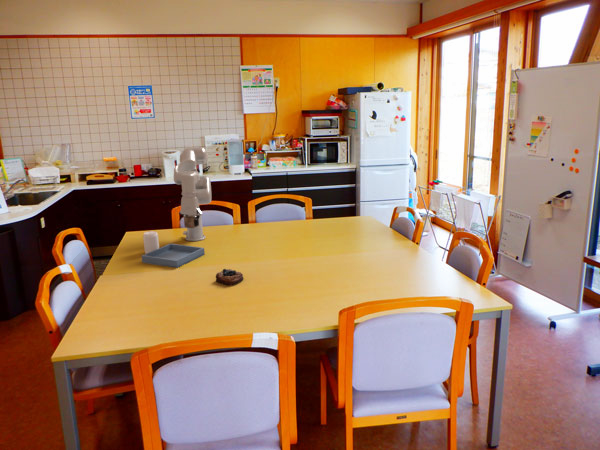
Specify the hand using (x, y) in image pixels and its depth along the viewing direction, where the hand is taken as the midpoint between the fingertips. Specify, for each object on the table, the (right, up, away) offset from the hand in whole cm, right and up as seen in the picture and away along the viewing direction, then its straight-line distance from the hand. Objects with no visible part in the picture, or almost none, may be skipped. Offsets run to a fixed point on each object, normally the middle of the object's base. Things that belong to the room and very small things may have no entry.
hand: (191, 225), depth 277 cm
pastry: (+29, -27, -47) cm, 62 cm away
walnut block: (0, -1, 0) cm, 1 cm away
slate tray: (-7, -19, -12) cm, 23 cm away
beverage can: (-23, -16, -1) cm, 28 cm away
